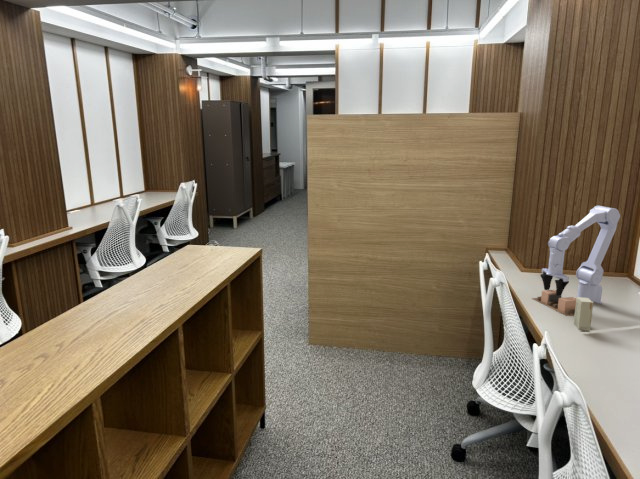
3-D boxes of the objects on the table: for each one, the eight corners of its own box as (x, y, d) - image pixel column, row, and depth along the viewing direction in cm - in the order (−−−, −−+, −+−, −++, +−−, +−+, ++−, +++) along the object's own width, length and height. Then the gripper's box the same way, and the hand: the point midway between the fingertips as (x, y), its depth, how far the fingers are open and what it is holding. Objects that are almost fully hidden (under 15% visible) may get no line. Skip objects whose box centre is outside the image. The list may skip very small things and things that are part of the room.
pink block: (570, 307, 205) (571, 296, 204) (578, 311, 201) (579, 300, 200) (556, 308, 204) (557, 297, 203) (564, 312, 199) (565, 301, 198)
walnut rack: (555, 298, 220) (555, 293, 219) (592, 315, 199) (592, 310, 198) (530, 300, 217) (531, 295, 216) (566, 318, 196) (566, 312, 195)
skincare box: (590, 332, 181) (594, 302, 179) (577, 331, 182) (581, 301, 179) (584, 326, 187) (588, 297, 185) (572, 325, 188) (576, 296, 186)
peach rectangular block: (540, 301, 213) (542, 290, 212) (553, 300, 214) (555, 289, 213) (548, 304, 208) (549, 294, 207) (561, 303, 210) (562, 292, 209)
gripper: (537, 259, 213) (534, 288, 216) (560, 268, 200) (556, 298, 203) (550, 258, 215) (547, 286, 218) (574, 267, 201) (570, 297, 204)
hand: (552, 292), depth 210 cm, fingers open, 7 cm apart
